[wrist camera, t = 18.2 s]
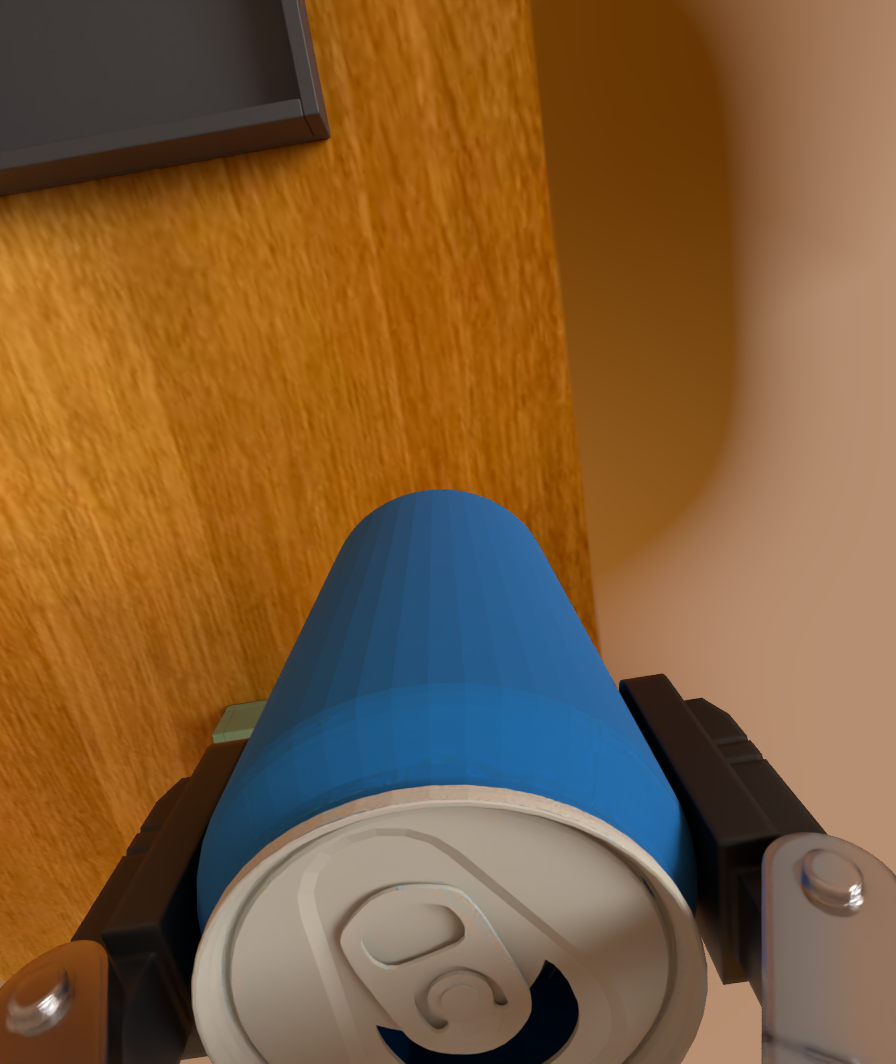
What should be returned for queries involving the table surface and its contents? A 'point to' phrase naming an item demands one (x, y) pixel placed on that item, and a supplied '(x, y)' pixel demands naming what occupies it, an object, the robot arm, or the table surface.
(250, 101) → the charcoal tray
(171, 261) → the table surface
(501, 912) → the beverage can
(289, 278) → the table surface
